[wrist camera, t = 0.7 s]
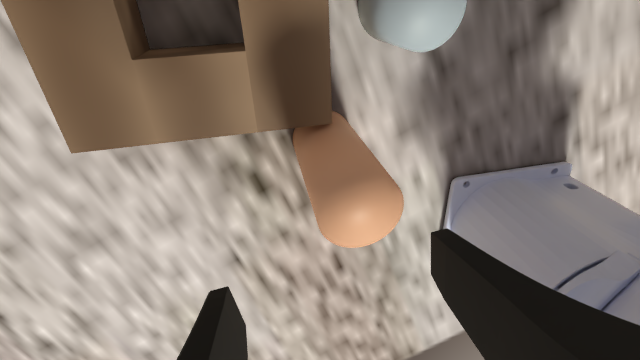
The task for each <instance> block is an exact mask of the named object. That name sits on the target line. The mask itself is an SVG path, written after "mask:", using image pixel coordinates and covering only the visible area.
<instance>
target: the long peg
mask: <svg viewBox="0 0 640 360" xmlns="http://www.w3.org/2000/svg"><path fill="white" fill-rule="evenodd" d="M293 146H294V149H295V152H296V155H297V159H298V162H299V165H300V168H301V171H302V175H303V178H304V181H305V184H306V188H307V191H308V194H309V197H310V200H311V204H312V207H313V210H314V213H315V217H316V220H317V223H318V226H319V229H320V231H321V233H322V234H323V235H324V237H325V238H326V239H327V240H329V241H330V242H332V243H334V244H336V245H339V246H342V247H349V248H356V247H363V246H367V245H370V244H372V243H375V242H377V241H379V240H380V239H382V238H383V237H385V236H386V235H387V234H388V233H390V232H391V231H392V230H393V228H394V227H395V226H396V225H397V223H398V221H399V219H400V217H401V215H402V212H403V206H404V200H403V195H402V192H401V190H400V188H399V187H398V185H397V184H396V183H395V181H394V180H393V179H392V178H391V176H390V175H389V174H388V172H387V171H386V170H385V169H384V167H383V166H382V165H381V164H380V162H379V161H378V160H377V159H376V157H375V156H374V155H373V153H372V152H371V151H370V150H369V148H368V147H367V146H366V145H365V143H364V142H363V141H362V140H361V138H360V137H359V136H358V135H357V133H356V132H355V131H354V129H353V128H352V127H351V126H350V124H349V123H348V122H347V121H346V119H345V118H344V117H343V116H342V115H340V114H339V113H337V112H335V111H332V124H325V125H316V126H307V127H298V128H295V130H294V133H293Z"/></svg>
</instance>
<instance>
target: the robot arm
mask: <svg viewBox="0 0 640 360" xmlns="http://www.w3.org/2000/svg"><path fill="white" fill-rule="evenodd" d="M571 170H572V164H570V163H569V162H558V163H551V164H545V165H538V166H531V167H524V168H517V169H510V170H503V171H496V172H489V173H483V174H476V175H469V176H462V177H457V178H455V179H453V181H452V182H451V186H450V192H449V198H448V204H447V210H446V215H445V221H444V227H443V230H439V231H435V232H431V275H432V277H433V279H434V281H435V283H436V285H437V287H438V289H439V290H440V292H441V294H442V296H443V298H444V300H445V301H446V303H447V304H448V306H449V307H450V309H451V310H452V312H453V313H454V315H455V316H456V318H457V319H458V321H459V322H460V324H461V325H462V327H463V328H464V329H465V331H466V332H467V334H468V335H469V337H470V338H471V340H472V341H473V343H474V344H475V346H476V347H477V348H478V350H479V351H480V353H481V354H482V356H483V357H484V359H485V360H640V215H638V214H637V213H635V212H633V211H631V210H629V209H628V208H626V207H624V206H622V205H621V204H619V203H617V202H615V201H613V200H612V199H610V198H608V197H606V196H605V195H603V194H601V193H599V192H597V191H596V190H594V189H592V188H590V187H588V186H587V185H585V184H583V183H581V182H580V181H578V180H576V179H574V178H572V177H571V176H570V173H571ZM465 182H466V184H464V183H465ZM463 184H464V185H463ZM247 359H248V353H247V337H246V325H245V322H244V320H243V318H242V316H241V314H240V311H239V309H238V307H237V305H236V302H235V300H234V298H233V296H232V294H231V291H230V289H229V287H224V288H220V289H217V290H213V291H210V292H209V294H208V296H207V298H206V300H205V302H204V305H203V307H202V309H201V311H200V313H199V316H198V318H197V320H196V322H195V324H194V326H193V328H192V330H191V333H190V334H189V336H188V338H187V340H186V342H185V344H184V346H183V348H182V350H181V352H180V354H179V356H178V358H177V360H247Z"/></svg>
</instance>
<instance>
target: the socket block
mask: <svg viewBox="0 0 640 360" xmlns="http://www.w3.org/2000/svg"><path fill="white" fill-rule="evenodd" d="M1 2H2V4H3V6H4V8H5V11H6V13H7V15H8V17H9V19H10V21H11V24H12V26H13V28H14V30H15V32H16V34H17V37H18V39H19V41H20V43H21V45H22V47H23V50H24V52H25V54H26V56H27V58H28V60H29V63H30V65H31V67H32V69H33V71H34V73H35V76H36V78H37V80H38V82H39V84H40V86H41V89H42V91H43V93H44V95H45V97H46V99H47V102H48V104H49V106H50V108H51V110H52V112H53V115H54V117H55V119H56V121H57V123H58V126H59V128H60V130H61V132H62V134H63V136H64V139H65V141H66V143H67V145H68V147H69V149H70V152H71V153H79V152H88V151H97V150H105V149H114V148H123V147H132V146H140V145H149V144H158V143H167V142H176V141H184V140H193V139H202V138H211V137H219V136H228V135H237V134H246V133H255V132H263V131H272V130H281V129H290V128H298V127H307V126H316V125H325V124H332V99H331V67H330V35H329V4H328V0H238V4H239V11H240V18H241V24H242V31H243V38H244V43H232V44H219V45H206V46H192V47H179V48H166V49H153V50H150V48H149V44H148V41H147V37H146V34H145V30H144V27H143V23H142V20H141V16H140V13H139V9H138V6H137V2H136V0H1Z"/></svg>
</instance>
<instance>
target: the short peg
mask: <svg viewBox="0 0 640 360" xmlns="http://www.w3.org/2000/svg"><path fill="white" fill-rule="evenodd" d="M466 4H467V0H358V13H359V18H360V21H361V24H362V26H363V27H364V29H365V30H366V32H367V33H368V34H369V35H370V36H372V37H373V38H375V39H377V40H380V41H383V42H386V43H389V44H392V45H395V46H397V47H400V48H403V49H406V50H409V51H412V52H427V51H430V50H433V49H436V48H438V47H439V46H441V45H442V44H444V43H445V42H446V41H447V40H448V39H449V38H450V37H451V36H452V35H453V34H454V33H455V31H456V30H457V28H458V27H459V25H460V23H461V21H462V18H463V16H464V13H465V9H466Z"/></svg>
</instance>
